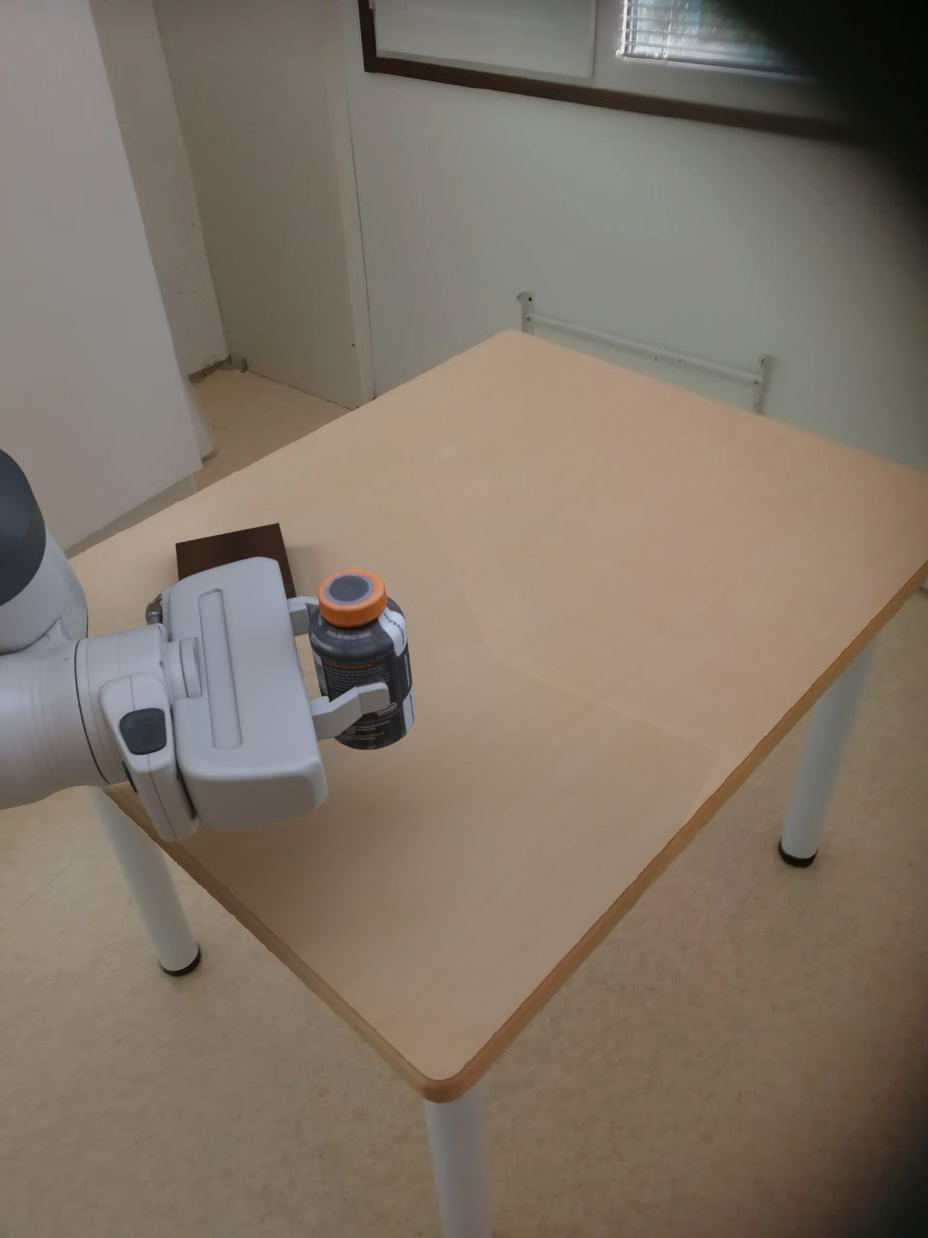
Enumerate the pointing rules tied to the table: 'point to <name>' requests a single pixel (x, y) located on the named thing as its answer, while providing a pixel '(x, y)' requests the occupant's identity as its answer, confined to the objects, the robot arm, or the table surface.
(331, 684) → the pill bottle
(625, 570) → the table surface
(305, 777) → the robot arm
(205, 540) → the walnut stand
